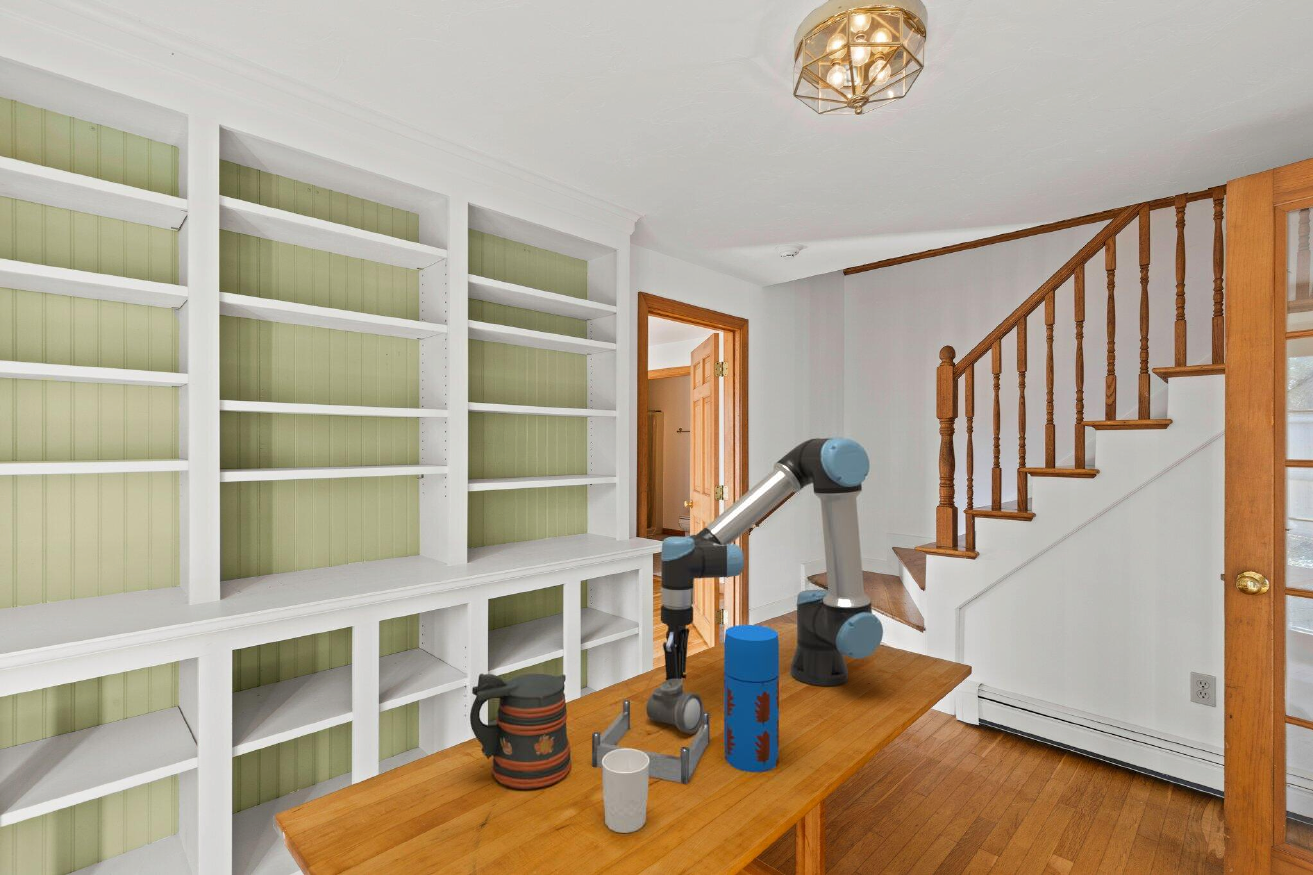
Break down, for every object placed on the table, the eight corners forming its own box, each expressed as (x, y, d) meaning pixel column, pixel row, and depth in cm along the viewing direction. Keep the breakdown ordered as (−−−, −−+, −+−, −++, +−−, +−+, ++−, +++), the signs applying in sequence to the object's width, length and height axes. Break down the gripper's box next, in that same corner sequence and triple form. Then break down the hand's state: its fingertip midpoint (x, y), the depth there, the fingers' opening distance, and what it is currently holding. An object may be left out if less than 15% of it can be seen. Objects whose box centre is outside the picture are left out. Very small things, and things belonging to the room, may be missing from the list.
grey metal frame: (624, 726, 134) (624, 699, 134) (710, 740, 128) (710, 712, 128) (590, 765, 118) (590, 734, 118) (687, 784, 111) (687, 751, 111)
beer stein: (485, 809, 103) (486, 691, 104) (459, 771, 115) (460, 665, 116) (584, 775, 114) (584, 669, 114) (551, 744, 126) (551, 647, 127)
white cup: (601, 807, 104) (602, 749, 104) (647, 805, 105) (647, 747, 105) (601, 837, 96) (601, 773, 96) (650, 834, 97) (651, 771, 97)
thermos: (782, 750, 124) (782, 627, 125) (774, 776, 114) (775, 643, 114) (730, 741, 128) (730, 622, 128) (718, 766, 118) (718, 637, 118)
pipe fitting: (709, 720, 134) (698, 677, 133) (688, 742, 128) (677, 696, 127) (667, 711, 142) (657, 670, 141) (645, 731, 136) (635, 688, 135)
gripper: (670, 596, 147) (668, 694, 147) (652, 610, 135) (650, 717, 134) (700, 599, 144) (698, 699, 144) (684, 614, 132) (683, 722, 132)
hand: (675, 707), depth 139 cm, fingers closed
